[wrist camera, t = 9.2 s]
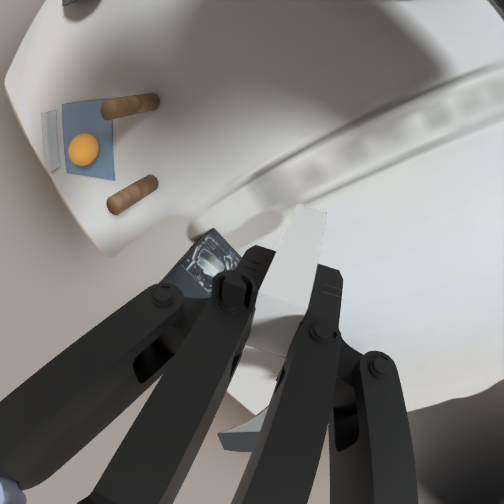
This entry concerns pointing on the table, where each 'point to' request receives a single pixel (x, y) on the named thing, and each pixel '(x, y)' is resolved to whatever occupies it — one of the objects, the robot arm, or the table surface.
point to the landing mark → (91, 122)
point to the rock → (67, 2)
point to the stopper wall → (50, 140)
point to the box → (202, 265)
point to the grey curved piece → (243, 434)
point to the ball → (83, 149)
